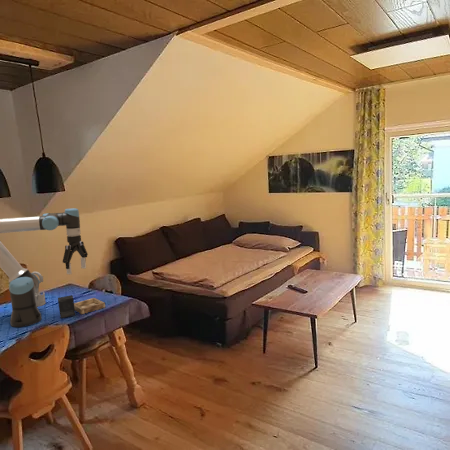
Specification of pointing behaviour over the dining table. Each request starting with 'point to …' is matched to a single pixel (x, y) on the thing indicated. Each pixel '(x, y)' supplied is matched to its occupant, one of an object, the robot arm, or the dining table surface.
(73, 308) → the box
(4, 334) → the dining table surface
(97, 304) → the socket tray
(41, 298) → the engine component
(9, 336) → the dining table surface
